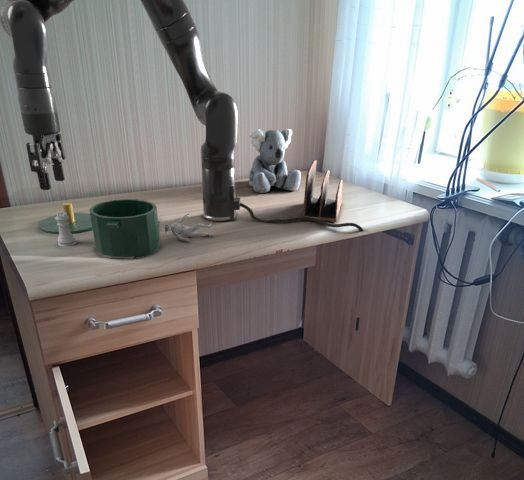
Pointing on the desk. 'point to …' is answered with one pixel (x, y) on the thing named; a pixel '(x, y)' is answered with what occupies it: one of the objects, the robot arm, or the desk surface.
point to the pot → (125, 228)
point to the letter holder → (321, 198)
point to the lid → (76, 221)
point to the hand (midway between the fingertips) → (53, 184)
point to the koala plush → (272, 162)
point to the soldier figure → (186, 229)
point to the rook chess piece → (64, 230)
